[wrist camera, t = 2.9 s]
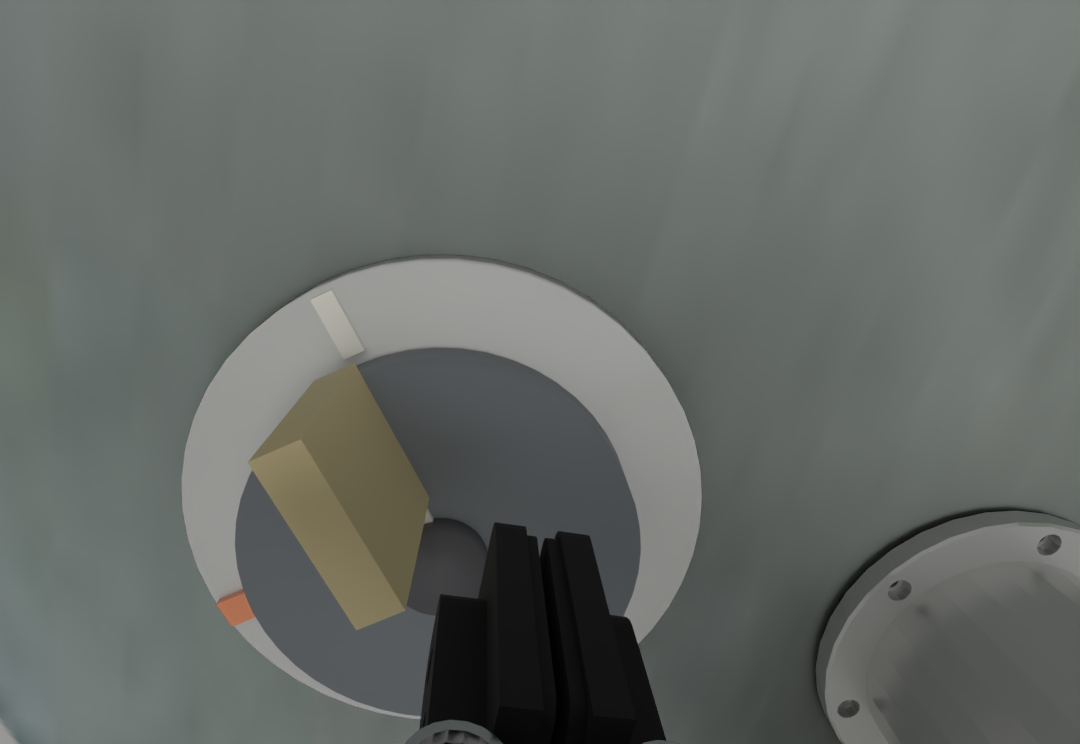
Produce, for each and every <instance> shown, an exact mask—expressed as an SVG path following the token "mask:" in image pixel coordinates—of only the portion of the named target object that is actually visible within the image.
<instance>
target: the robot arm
mask: <svg viewBox="0 0 1080 744" xmlns="http://www.w3.org/2000/svg"><path fill="white" fill-rule="evenodd" d="M816 680H817V692H818V695H819V699H820V702H821V705H822V708H823V711H824V714H825V715H826V717H827V719H828V721H829V722H830V724H831V726H832V728H833V730H834V731H835V733H836V735H837V737H838V739H839V740H840V741H841V743H842V744H1080V526H1078V525H1076V524H1075V523H1072V522H1069V521H1066V520H1063V519H1060V518H1057V517H1054V516H1051V515H1048V514H1042V513H1033V512H1025V511H1002V512H985V513H981V514H977V515H972V516H968V517H963V518H959V519H954V520H951V521H949V522H946V523H944V524H941V525H939V526H936V527H934V528H931V529H928V530H926V531H923V532H921V533H919V534H918V535H916V536H914V537H912V538H911V539H909V540H907V541H906V542H904V543H902V544H900V545H899V546H897V547H895V548H893V549H892V550H891V551H889V552H888V553H887V554H886V555H884V556H883V557H882V558H881V559H879V560H878V561H877V562H876V563H874V564H873V565H872V566H871V567H869V568H868V569H867V570H866V571H865V572H864V573H863V574H862V576H861V577H860V578H859V579H858V580H857V581H856V582H855V583H854V584H853V585H852V587H851V588H850V589H849V590H848V591H847V592H846V593H845V595H844V597H843V598H842V600H841V601H840V603H839V604H838V606H837V607H836V609H835V611H834V612H833V614H832V615H831V617H830V619H829V622H828V624H827V627H826V629H825V632H824V634H823V637H822V639H821V642H820V646H819V652H818V657H817V663H816ZM405 744H679V743H676V742H673V741H666V738H665V735H664V731H663V728H662V725H661V721H660V718H659V714H658V711H657V708H656V704H655V701H654V697H653V694H652V691H651V687H650V684H649V680H648V677H647V674H646V670H645V667H644V663H643V660H642V657H641V653H640V650H639V646H638V643H637V640H636V636H635V633H634V629H633V626H632V624H631V621H630V619H628V618H627V617H624V616H616V615H610V613H609V609H608V605H607V601H606V597H605V593H604V589H603V585H602V581H601V577H600V573H599V569H598V565H597V562H596V558H595V554H594V550H593V546H592V542H591V538H590V536H589V535H584V534H577V533H570V532H563V531H558V532H557V533H556V535H555V538H554V539H552V538H545V539H544V541H543V545H542V549H541V553H540V557H539V549H538V541H537V537H536V536H530V535H527V530H526V527H525V526H519V525H512V524H505V523H497V522H495V523H494V525H493V528H492V533H491V537H490V542H489V547H488V552H487V557H486V561H485V566H484V571H483V576H482V581H481V586H480V590H479V595H478V599H476V598H468V597H460V596H452V595H444V594H440V597H439V601H438V606H437V611H436V617H435V622H434V628H433V633H432V639H431V645H430V651H429V657H428V664H427V671H426V678H425V686H424V695H423V703H422V712H421V720H420V729H419V730H418V731H417V732H416V733H415V734H414V735H413V736H411V737H410V738H409V739H408V740H407V741H406V743H405Z"/></svg>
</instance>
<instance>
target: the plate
mask: <svg viewBox="0 0 1080 744" xmlns="http://www.w3.org/2000/svg"><path fill="white" fill-rule="evenodd" d="M425 348H461V349H468V350H474V351H480V352H487V353H490V354H494V355H497V356H501V357H504V358H508V359H511V360H514V361H516V362H518V363H521V364H523V365H525V366H528V367H530V368H532V369H535V370H536V371H538V372H540V373H542V374H543V375H545V376H547V377H548V378H550V379H552V380H553V381H555V382H557V383H558V384H559V385H561V386H562V387H563V388H564V389H566V390H567V391H568V392H569V393H571V394H572V395H573V396H575V397H576V398H577V399H578V400H579V401H580V402H581V403H582V404H583V405H584V406H585V407H586V408H587V410H588V411H589V412H590V413H591V414H592V415H593V416H594V417H595V419H596V420H597V421H598V423H599V424H600V426H601V427H602V428H603V430H604V431H605V432H606V434H607V436H608V438H609V440H610V441H611V443H612V445H613V447H614V449H615V451H616V453H617V455H618V458H619V461H620V463H621V466H622V469H623V472H624V474H625V477H626V480H627V483H628V485H629V488H630V491H631V494H632V497H633V500H634V502H635V505H636V510H637V515H638V520H639V526H640V541H641V554H640V563H639V572H638V576H637V580H636V584H635V588H634V592H633V595H632V597H631V600H630V602H629V604H628V607H627V609H626V611H625V614H624V617H627V618H628V619H630V621H631V624H632V626H633V629H634V633H635V636H636V640H637V643H638V644H639V643H640V642H641V641H642V640H643V639H644V637H645V636H646V635H647V634H648V633H649V632H650V631H651V630H652V629H653V627H654V626H655V625H656V623H657V622H658V621H659V619H660V618H661V617H662V615H663V614H664V613H665V611H666V610H667V609H668V607H669V605H670V604H671V602H672V600H673V598H674V596H675V595H676V593H677V591H678V589H679V587H680V586H681V584H682V582H683V579H684V577H685V574H686V572H687V569H688V567H689V564H690V562H691V559H692V556H693V553H694V548H695V544H696V540H697V536H698V532H699V527H700V516H701V505H702V489H701V471H700V465H699V460H698V455H697V450H696V445H695V441H694V437H693V435H692V432H691V429H690V426H689V424H688V421H687V418H686V415H685V413H684V410H683V408H682V406H681V404H680V403H679V401H678V399H677V397H676V395H675V393H674V391H673V390H672V388H671V386H670V384H669V382H668V381H667V379H666V378H665V376H664V375H663V373H662V372H661V371H660V369H659V368H658V366H657V365H656V364H655V362H654V361H653V360H652V358H651V357H650V356H649V354H648V353H647V351H646V350H645V349H644V347H643V346H642V345H641V343H640V342H639V341H638V340H637V339H636V338H635V337H634V336H633V335H632V334H631V333H630V332H629V331H628V330H627V329H626V328H625V327H624V326H623V325H622V324H621V323H620V322H619V321H618V320H617V319H616V318H615V317H614V316H612V315H611V314H610V313H608V312H607V311H606V310H605V309H603V308H602V307H601V306H599V305H598V304H597V303H595V302H594V301H593V300H591V299H590V298H588V297H587V296H585V295H583V294H581V293H580V292H578V291H576V290H574V289H573V288H571V287H569V286H567V285H566V284H564V283H562V282H560V281H558V280H556V279H553V278H551V277H548V276H546V275H543V274H541V273H538V272H536V271H534V270H531V269H529V268H525V267H521V266H517V265H514V264H510V263H506V262H502V261H498V260H495V259H487V258H479V257H471V256H464V255H420V256H412V257H405V258H397V259H390V260H385V261H381V262H378V263H374V264H371V265H367V266H363V267H360V268H356V269H353V270H350V271H348V272H346V273H343V274H341V275H339V276H336V277H334V278H332V279H329V280H327V281H325V282H322V283H320V284H319V285H317V286H315V287H314V288H312V289H310V290H309V291H307V292H305V293H304V294H302V295H301V296H299V297H297V298H296V299H294V300H292V301H291V302H289V303H288V304H287V305H285V306H284V307H283V308H281V309H280V310H278V311H277V312H276V313H275V314H273V315H272V316H271V317H270V318H268V319H267V320H266V321H265V322H264V323H262V324H261V325H260V326H259V327H257V328H256V329H255V330H254V331H253V332H251V333H250V334H249V335H248V336H247V337H246V338H245V340H244V341H243V342H242V343H241V344H240V345H239V346H238V347H237V348H236V349H235V351H234V352H233V353H232V354H231V355H230V356H229V357H228V358H227V359H226V361H225V362H224V364H223V365H222V367H221V368H220V370H219V371H218V373H217V374H216V376H215V377H214V379H213V380H212V382H211V383H210V385H209V386H208V388H207V390H206V392H205V395H204V397H203V399H202V401H201V403H200V405H199V407H198V410H197V412H196V414H195V416H194V419H193V423H192V426H191V430H190V433H189V437H188V440H187V444H186V447H185V455H184V463H183V471H182V508H183V515H184V520H185V525H186V531H187V536H188V541H189V544H190V547H191V549H192V552H193V555H194V558H195V561H196V564H197V567H198V569H199V571H200V573H201V575H202V577H203V579H204V581H205V583H206V585H207V587H208V589H209V591H210V593H211V595H212V597H213V598H214V599H215V601H216V602H217V604H216V605H217V607H218V608H219V609H220V611H221V612H222V613H223V615H224V616H225V618H226V619H227V620H228V622H229V623H230V625H231V626H232V627H233V626H234V627H235V628H236V629H237V630H238V631H239V632H240V633H241V634H242V635H243V637H244V638H245V639H246V640H247V641H248V642H249V643H250V644H251V645H252V646H253V647H255V648H256V649H257V650H258V651H259V652H260V653H261V654H263V655H264V656H265V657H266V658H267V659H268V660H269V661H271V662H272V663H273V664H275V665H276V666H278V667H279V668H280V669H282V670H283V671H285V672H286V673H288V674H289V675H291V676H292V677H294V678H295V679H297V680H298V681H300V682H302V683H304V684H306V685H308V686H310V687H312V688H313V689H315V690H317V691H319V692H321V693H323V694H325V695H328V696H330V697H333V698H335V699H338V700H340V701H343V702H345V703H348V704H350V705H353V706H357V707H360V708H364V709H367V710H371V711H374V712H378V713H382V714H388V715H393V716H399V717H405V718H411V719H421V716H414V715H405V714H400V713H395V712H390V711H385V710H381V709H378V708H374V707H371V706H368V705H365V704H362V703H359V702H356V701H354V700H352V699H350V698H347V697H345V696H343V695H341V694H338V693H336V692H334V691H333V690H331V689H329V688H327V687H326V686H324V685H322V684H321V683H319V682H317V681H315V680H314V679H313V678H311V677H310V676H309V675H307V674H306V673H305V672H303V671H302V670H301V669H299V668H298V667H297V666H296V665H295V664H293V663H292V662H291V661H290V660H289V659H288V658H287V657H286V656H285V655H284V654H283V653H282V652H281V651H280V650H279V649H278V648H277V647H276V645H275V644H274V643H273V642H272V640H271V639H270V638H269V637H268V635H267V634H266V633H265V632H264V630H263V628H262V627H261V625H260V623H259V622H258V620H257V619H256V617H255V615H254V614H253V612H252V610H251V607H250V605H249V603H248V600H247V598H246V596H245V593H244V591H243V588H242V584H241V580H240V577H239V573H238V569H237V561H236V552H235V529H236V519H237V514H238V509H239V504H240V499H241V496H242V494H243V491H244V488H245V486H246V483H247V480H248V478H249V475H250V473H251V472H252V469H251V467H250V466H249V464H248V461H249V460H250V459H251V457H252V456H253V455H254V454H255V452H256V451H257V450H258V449H259V448H260V446H261V445H262V444H263V443H264V441H265V440H266V439H267V438H268V437H269V435H270V434H271V433H272V432H273V430H274V429H275V428H276V427H277V425H278V424H279V423H280V422H281V421H282V419H283V418H284V417H285V416H286V414H287V413H288V412H289V411H290V410H291V408H292V407H293V406H294V405H295V403H296V402H297V401H298V400H299V398H300V397H301V396H302V395H303V394H304V392H305V391H306V390H307V389H308V387H309V386H310V385H311V384H312V383H313V381H314V380H316V379H318V378H320V377H323V376H325V375H327V374H329V373H332V372H334V371H336V370H338V369H341V368H343V367H345V366H348V365H350V364H352V363H355V365H356V366H357V365H359V364H362V363H364V362H367V361H370V360H373V359H375V358H378V357H381V356H384V355H389V354H393V353H398V352H402V351H407V350H415V349H425Z"/></svg>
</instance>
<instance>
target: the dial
mask: <svg viewBox="0 0 1080 744" xmlns="http://www.w3.org/2000/svg"><path fill="white" fill-rule="evenodd" d="M248 464H249V466H250V467H251V469H252V472H251V473H250V475H249V478H248V480H247V483H246V486H245V488H244V491H243V494H242V496H241V499H240V504H239V509H238V514H237V519H236V529H235V552H236V561H237V569H238V573H239V577H240V580H241V584H242V588H243V591H244V593H245V596H246V598H247V600H248V603H249V605H250V607H251V610H252V612H253V614H254V615H255V617H256V619H257V620H258V622H259V623H260V625H261V627H262V628H263V630H264V632H265V633H266V634H267V635H268V637H269V638H270V639H271V640H272V642H273V643H274V644H275V645H276V647H277V648H278V649H279V650H280V651H281V652H282V653H283V654H284V655H285V656H286V657H287V658H288V659H289V660H290V661H291V662H292V663H293V664H295V665H296V666H297V667H298V668H299V669H301V670H302V671H303V672H305V673H306V674H307V675H309V676H310V677H311V678H313V679H314V680H315V681H317V682H319V683H321V684H322V685H324V686H326V687H327V688H329V689H331V690H333V691H334V692H336V693H338V694H341V695H343V696H345V697H347V698H350V699H352V700H354V701H356V702H359V703H362V704H365V705H368V706H371V707H374V708H378V709H381V710H385V711H390V712H395V713H400V714H405V715H414V716H421V712H422V703H423V695H424V686H425V678H426V671H427V664H428V657H429V651H430V645H431V639H432V633H433V628H434V622H435V617H436V611H437V606H438V601H439V597H440V594H444V595H452V596H460V597H468V598H476V599H478V595H479V590H480V586H481V581H482V576H483V571H484V566H485V561H486V557H487V552H488V547H489V542H490V537H491V533H492V528H493V525H494V523H495V522H497V523H505V524H512V525H519V526H525V527H526V530H527V535H530V536H536V537H537V541H538V549H539V557H540V553H541V549H542V545H543V541H544V539H545V538H552V539H554V538H555V535H556V533H557V532H558V531H563V532H570V533H577V534H584V535H589V536H590V538H591V542H592V546H593V550H594V554H595V558H596V562H597V565H598V569H599V573H600V577H601V581H602V585H603V589H604V593H605V597H606V601H607V605H608V609H609V613H610V615H616V616H624V614H625V611H626V609H627V607H628V604H629V602H630V600H631V597H632V595H633V592H634V588H635V584H636V580H637V576H638V572H639V563H640V554H641V541H640V526H639V520H638V515H637V510H636V505H635V502H634V500H633V497H632V494H631V491H630V488H629V485H628V483H627V480H626V477H625V474H624V472H623V469H622V466H621V463H620V461H619V458H618V455H617V453H616V451H615V449H614V447H613V445H612V443H611V441H610V440H609V438H608V436H607V434H606V432H605V431H604V430H603V428H602V427H601V426H600V424H599V423H598V421H597V420H596V419H595V417H594V416H593V415H592V414H591V413H590V412H589V411H588V410H587V408H586V407H585V406H584V405H583V404H582V403H581V402H580V401H579V400H578V399H577V398H576V397H575V396H573V395H572V394H571V393H569V392H568V391H567V390H566V389H564V388H563V387H562V386H561V385H559V384H558V383H557V382H555V381H553V380H552V379H550V378H548V377H547V376H545V375H543V374H542V373H540V372H538V371H536V370H535V369H532V368H530V367H528V366H525V365H523V364H521V363H518V362H516V361H514V360H511V359H508V358H504V357H501V356H497V355H494V354H490V353H487V352H480V351H474V350H468V349H461V348H425V349H415V350H407V351H402V352H398V353H393V354H389V355H384V356H381V357H378V358H375V359H373V360H370V361H367V362H364V363H362V364H359V365H357V366H356V365H355V363H352V364H350V365H348V366H345V367H343V368H341V369H338V370H336V371H334V372H332V373H329V374H327V375H325V376H323V377H320V378H318V379H316V380H314V381H313V383H312V384H311V385H310V386H309V387H308V389H307V390H306V391H305V392H304V394H303V395H302V396H301V397H300V398H299V400H298V401H297V402H296V403H295V405H294V406H293V407H292V408H291V410H290V411H289V412H288V413H287V414H286V416H285V417H284V418H283V419H282V421H281V422H280V423H279V424H278V425H277V427H276V428H275V429H274V430H273V432H272V433H271V434H270V435H269V437H268V438H267V439H266V440H265V441H264V443H263V444H262V445H261V446H260V448H259V449H258V450H257V451H256V452H255V454H254V455H253V456H252V457H251V459H250V460H249V461H248Z"/></svg>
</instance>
